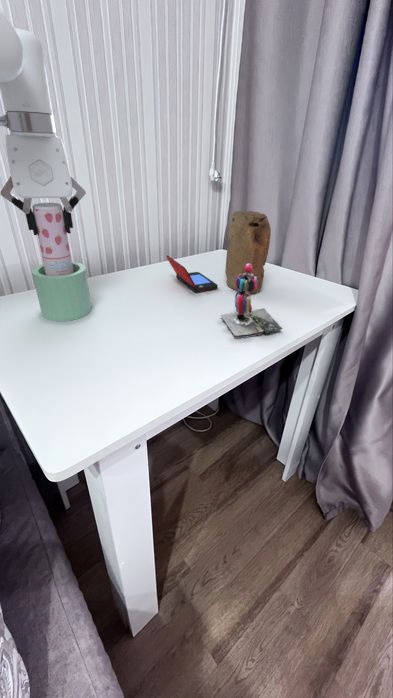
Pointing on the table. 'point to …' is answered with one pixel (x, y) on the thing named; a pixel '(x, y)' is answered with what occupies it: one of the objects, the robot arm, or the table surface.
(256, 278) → the statue
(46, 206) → the beverage can
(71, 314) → the jar
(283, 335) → the table surface
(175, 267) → the handheld console
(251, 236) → the block
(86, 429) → the table surface
